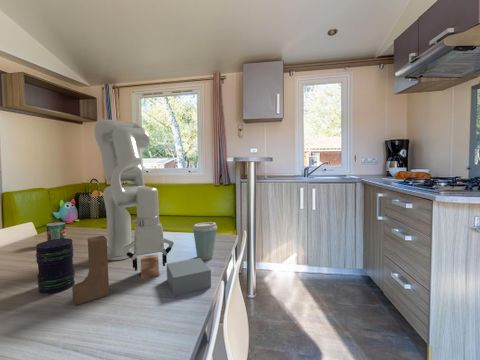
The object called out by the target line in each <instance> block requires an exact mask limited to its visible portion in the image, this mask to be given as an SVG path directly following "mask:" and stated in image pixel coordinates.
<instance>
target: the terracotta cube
mask: <svg viewBox="0 0 480 360" xmlns="http://www.w3.org/2000/svg"><path fill="white" fill-rule="evenodd" d="M159 261H160V259H159V254H157V253H155V254H150V255H149V254H148V255H141V256H140V278H141V279H146V278H153V277H159V276H160V270H159V269H160V266H159V263H160V262H159Z"/></svg>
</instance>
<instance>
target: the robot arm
mask: <svg viewBox="0 0 480 360" xmlns="http://www.w3.org/2000/svg"><path fill="white" fill-rule="evenodd" d="M93 131H94V138H95V141H96V144H97V146H98V148H99V151H100V153H101V160H102V166H103V167H102V168H103V173H104V177H105V180H106V181H108V182H109V183H110V185H109V186H106V187H105V188H104V190H103V192H102V193H103V194H102V197H103V202H104V206H105V211H106V212H105V214H106V229H107V230H106V231H107V256H108V261H122V260H126V259H131V260H132V268H133V269H134V271H135V272H136V271H138V259H137V257H138V256H140V255H141V256H144V255H149V254H150V255H151V254H157V253H161V254H162V255H161V258H162V259H161V261H162V266H163V267H166V264H168V261H167V260H168V259H167V258H168V257H167V256H168V254H169V253H170V252H171V251H172V248H173V246H174V241H173V240H170V239H168V238H164V231H163V225H162V223H161V222H160V210H159V209H160V207H159V206H160V205H159V191H158V188H156V187H153V186H152V187H151V186H148V185H145V179H144V178H145V177H144V172H143V168H142V165H141V163H142V157H141V155H140V150H139V149H147V148H148V147H149V145H150V141H151V138H150V135H149V132H148V131H147V130H146V129H145V128H144V127H143V126H141V125H139V124H138V123H136V122H132V121H124V120H118V119H117V120H116V119H100V120H97V121H96V122H95V124H94V129H93ZM127 182H128V183H129V184H127ZM122 183H126V184H122ZM131 207H136V218H135V219H131V214H130V212H129V211H128V210H127V209H126V208H131ZM131 220H132V221H131ZM132 223H133V224H136V225H135V227H134V234H133V235H134V236H133V241H132ZM165 244H167V245H168V246H167V247H166V248H165Z"/></svg>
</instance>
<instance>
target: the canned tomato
mask: <svg viewBox="0 0 480 360" xmlns="http://www.w3.org/2000/svg"><path fill="white" fill-rule="evenodd" d="M45 225H46V241H49V240H55V239H67V233H66V231H67V230H66V222H65V221H56V222H50V223H47V224H45Z"/></svg>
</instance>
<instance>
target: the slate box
mask: <svg viewBox="0 0 480 360" xmlns="http://www.w3.org/2000/svg"><path fill="white" fill-rule="evenodd" d="M166 281H167V283H168V286H169V287H170V290H171V292H172V294H173V297H175V295H176V296H180V295H183V294H184V295H185V294H188V293H193V292H196V291H200V290H204V289H208V288H212V270H211V268H209V266H208V265H207V264H206V263H205V261H204V260H201V258H198V257H197V258H192V259H186V260H180V261H175V262H170V263H166Z"/></svg>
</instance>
